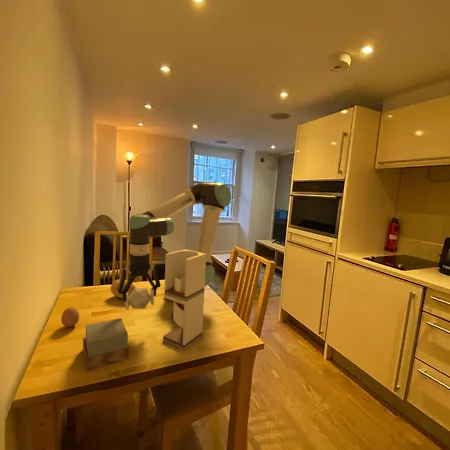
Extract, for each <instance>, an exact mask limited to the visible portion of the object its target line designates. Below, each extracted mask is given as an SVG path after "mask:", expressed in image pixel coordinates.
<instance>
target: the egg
mask: <svg viewBox="0 0 450 450" xmlns="http://www.w3.org/2000/svg"><path fill="white" fill-rule="evenodd" d="M79 319H80V313H79V311H78V310H77V308H75V307H74V306H68V307H67V308H65V310H63V312H62V314H61V317H60V321H61V324H62V325H63V326H64V327H67V328H73V327H74V326H75V325H76V324H77V323H78V322H79Z"/></svg>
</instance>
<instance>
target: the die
mask: <svg viewBox="0 0 450 450" xmlns="http://www.w3.org/2000/svg"><path fill="white" fill-rule="evenodd" d="M150 300H151V296H150V291H149V290H148V287H147V288H145V287H136V288H134V290H133V291H132V293H131V294H130V296H129V304H130V307H131V308H132V309H135V310H136V309H138V310H145V309H147V306H148V305H149V303H150Z"/></svg>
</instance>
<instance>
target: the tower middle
mask: <svg viewBox="0 0 450 450" xmlns="http://www.w3.org/2000/svg"><path fill="white" fill-rule="evenodd" d="M85 337H86V343H87V350H88V357H91V356H95V355H99V354H103V353H107V352H111V351H115V350H119V349H123V348H127V347H128V346H129V333H128V331H127V329H126V326H125V324H124V321H123V319H122V318H115V319H111V320H106V321H99V322H95V323H89V324H85Z"/></svg>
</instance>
